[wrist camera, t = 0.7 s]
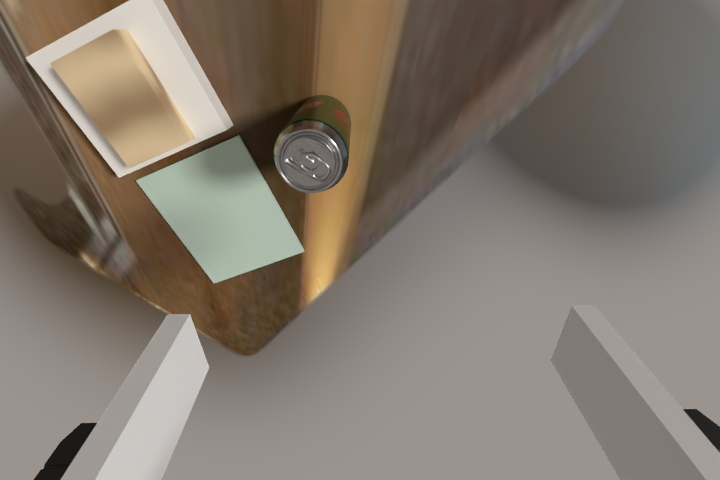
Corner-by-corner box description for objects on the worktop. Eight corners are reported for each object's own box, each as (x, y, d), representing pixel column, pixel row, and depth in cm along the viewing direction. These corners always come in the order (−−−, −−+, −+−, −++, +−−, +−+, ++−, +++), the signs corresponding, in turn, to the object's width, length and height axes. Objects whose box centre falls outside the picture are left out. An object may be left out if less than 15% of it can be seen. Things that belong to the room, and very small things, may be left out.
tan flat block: (68, 61, 29) (49, 63, 27) (127, 29, 28) (112, 29, 26) (141, 161, 33) (129, 168, 31) (195, 137, 32) (186, 143, 30)
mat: (137, 179, 36) (135, 180, 36) (239, 135, 34) (238, 135, 34) (214, 282, 43) (213, 283, 42) (304, 250, 40) (304, 251, 40)
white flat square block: (44, 56, 30) (25, 57, 29) (159, -7, 28) (146, -10, 27) (130, 170, 36) (119, 177, 34) (233, 125, 33) (226, 129, 32)
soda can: (317, 81, 32) (298, 104, 21) (361, 118, 33) (364, 156, 23) (286, 126, 34) (255, 168, 23) (329, 159, 35) (318, 212, 25)
